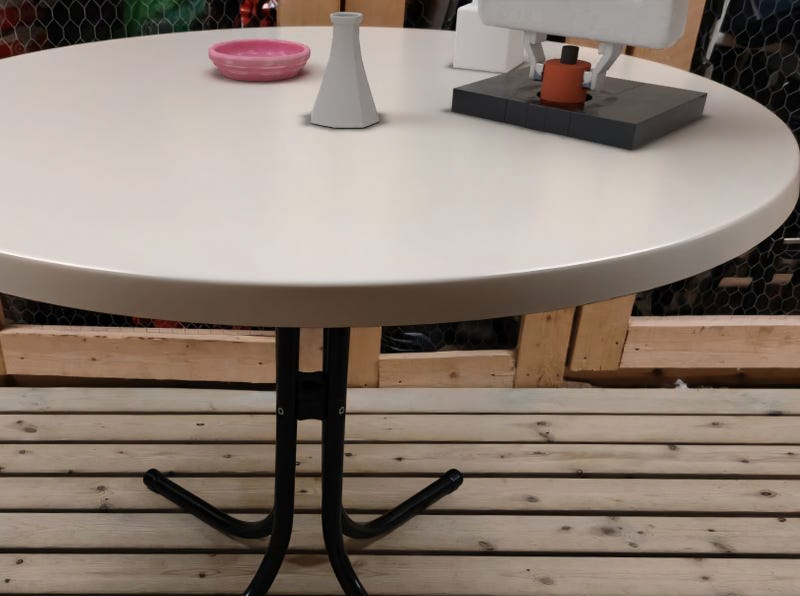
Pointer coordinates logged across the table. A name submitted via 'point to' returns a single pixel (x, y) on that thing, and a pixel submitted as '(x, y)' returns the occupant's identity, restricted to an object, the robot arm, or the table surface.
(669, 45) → the robot arm
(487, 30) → the medicine bottle
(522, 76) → the drain plate
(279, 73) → the pink shallow round dish
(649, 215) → the table surface
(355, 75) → the flask
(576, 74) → the stopper
